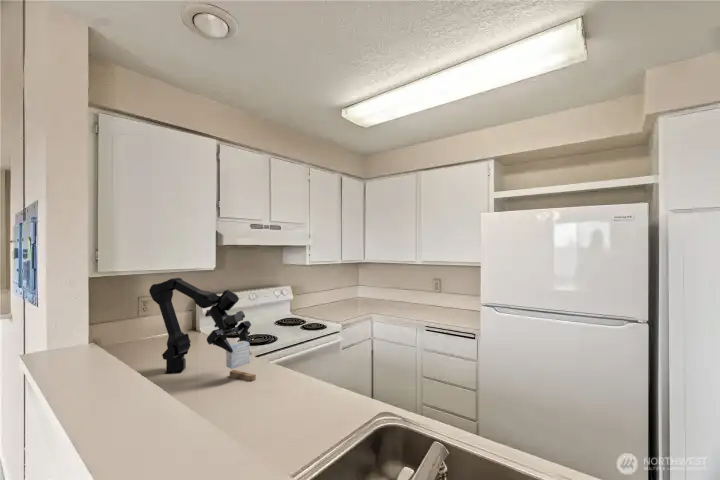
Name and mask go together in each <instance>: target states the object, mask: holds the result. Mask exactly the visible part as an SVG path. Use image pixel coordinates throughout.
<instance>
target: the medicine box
mask: <svg viewBox="0 0 720 480" xmlns="http://www.w3.org/2000/svg"><path fill="white" fill-rule="evenodd" d="M249 343H250V341H249V342H246V341H241V340H240V341H237V342H233V343H229V344H230V346H231V347H232V350H233V352H232V353H230V352H228V351H227V350H225V354H226V355H225V357H226V358H225V359H226V363H225V365H226V368H228V369H230V370H234V369H236V368H238V367H243V366H246V365H248V364H250V363H251V362H250V361H251V359H250V345H249Z"/></svg>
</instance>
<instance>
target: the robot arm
mask: <svg viewBox="0 0 720 480" xmlns="http://www.w3.org/2000/svg"><path fill="white" fill-rule="evenodd" d="M175 290H176V291H178V292H180V293H182V294H183V295H185V296H186V297H189V298H190V299H192V300H193V301H194V304H196V305H197V306H198V307H200V308H201V309H206V313H205V315H204V316H205V317H211V319H212V320H213V322H214V325H213V326H214V328H218V329H215V330H212V331H211V332H210V333H209V335H208V336H206V343H207V344H208V345H213V346H217V347H219V348H222V349H223V350H225V351H226V350H227V351H228V352H230V353H232V352H233V350H232V347H231V346H230V344H231V343H230V342H229V340H228V339H227V336H228V335H231V334H234V333H236V335H237V338H239V340H240V341H246V342H249V346H250V345H251V344H250V339H249V334H248V331H249V329H250V328H251V326H252V323H251V322H250V321H249V320H245V321H244V319H245V317H246V315H245V313H244V311H243V310H240V311H237V312H236V313H235V314H228V313H227V312H229V311H231V309H232V308H234V306H235V305H236V304H237V303H238V302H239V296H238V294H237V293H235V292H232V291H230V289H226V290H224V291H223V293H222V294H221V295H218V294H217V293H215V292H213V291H209V290H202V289H201V288H199V287H197V286H195V285H192V284H191V283H189V282H187V281H185V280H183V278H180V277H173V278H170V279H167V280H166V281H162V282H159V283H154V284H152V285H151V286H150V287H149V294H150V295H149V296H150V297H151V298H152V300H153V302H155V303H156V304H157V305H158V306H159V310H160V312H161V313H160V314H161V317H162V320H163V322H164V326H165V328H166V333H167V335H168V336H167V341H166V348H167V349H166V350H165V351H164V352H163V353H162V354H161V356H162V359H163V360H164V361H166V363H165V364H166V365H165V366H166V367H165V368H166V371H165V372H164V374H165V375H169V374H172V375H173V374H181V373H182V372H183V371H184V370H185V369H186V368H187V364H186V363H187V362H186V361H187V360H186V359H187V358H185V356H186V355H188V354H189V353H188V352H189V350H190V348H191V343H192V341H191V339H190V337H189V334H188V333H184V332H183V331H182V330H181V327H180V323H179V320H178V316H177V314H176V311H175V308H174V304H173V302H172V300H173V296H174V291H175ZM208 308H210V309H208ZM239 322H240V323H239Z"/></svg>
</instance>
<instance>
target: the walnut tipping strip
mask: <svg viewBox="0 0 720 480" xmlns="http://www.w3.org/2000/svg"><path fill="white" fill-rule="evenodd" d="M229 378H234V379H239V380H243V381H246V382H247V381H249V382H255V381H256V380H257V379H256V378H257V376H256V374H253V373H249V372H245V371H241V370H236V369H231V370H230V371H229Z"/></svg>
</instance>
